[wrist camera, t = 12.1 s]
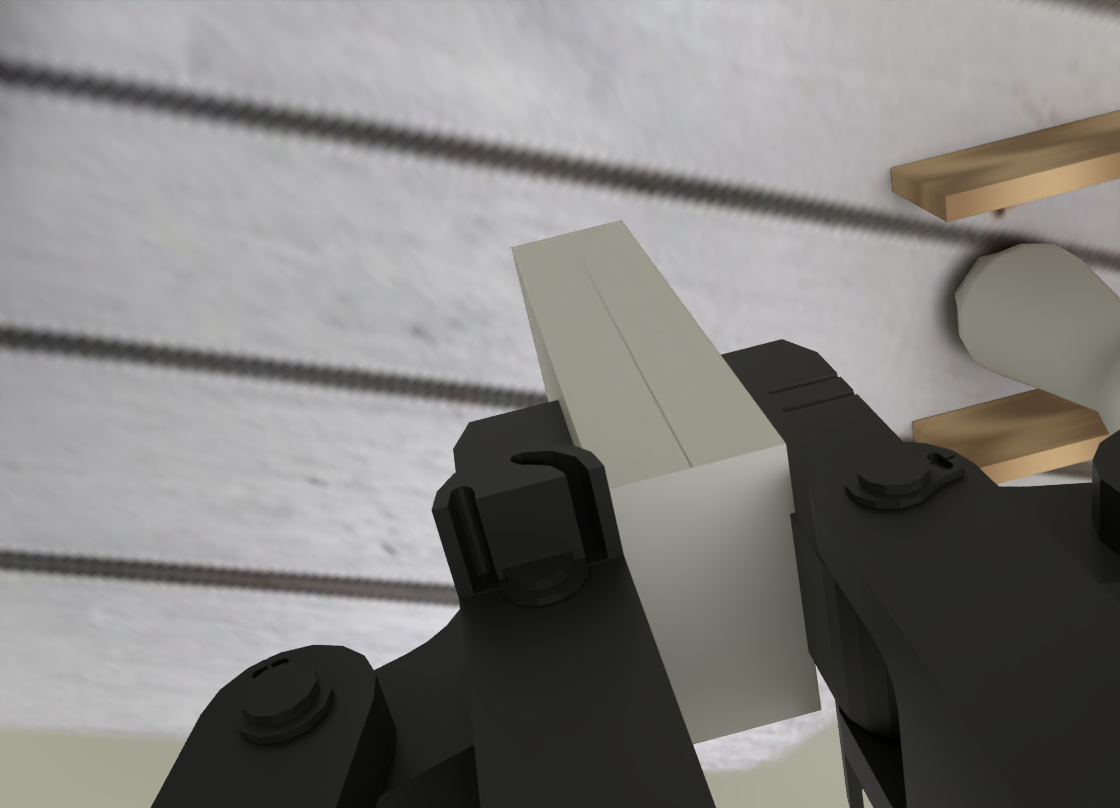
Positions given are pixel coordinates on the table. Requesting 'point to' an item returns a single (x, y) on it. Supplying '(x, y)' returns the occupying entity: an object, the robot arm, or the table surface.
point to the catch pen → (989, 184)
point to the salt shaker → (1045, 325)
